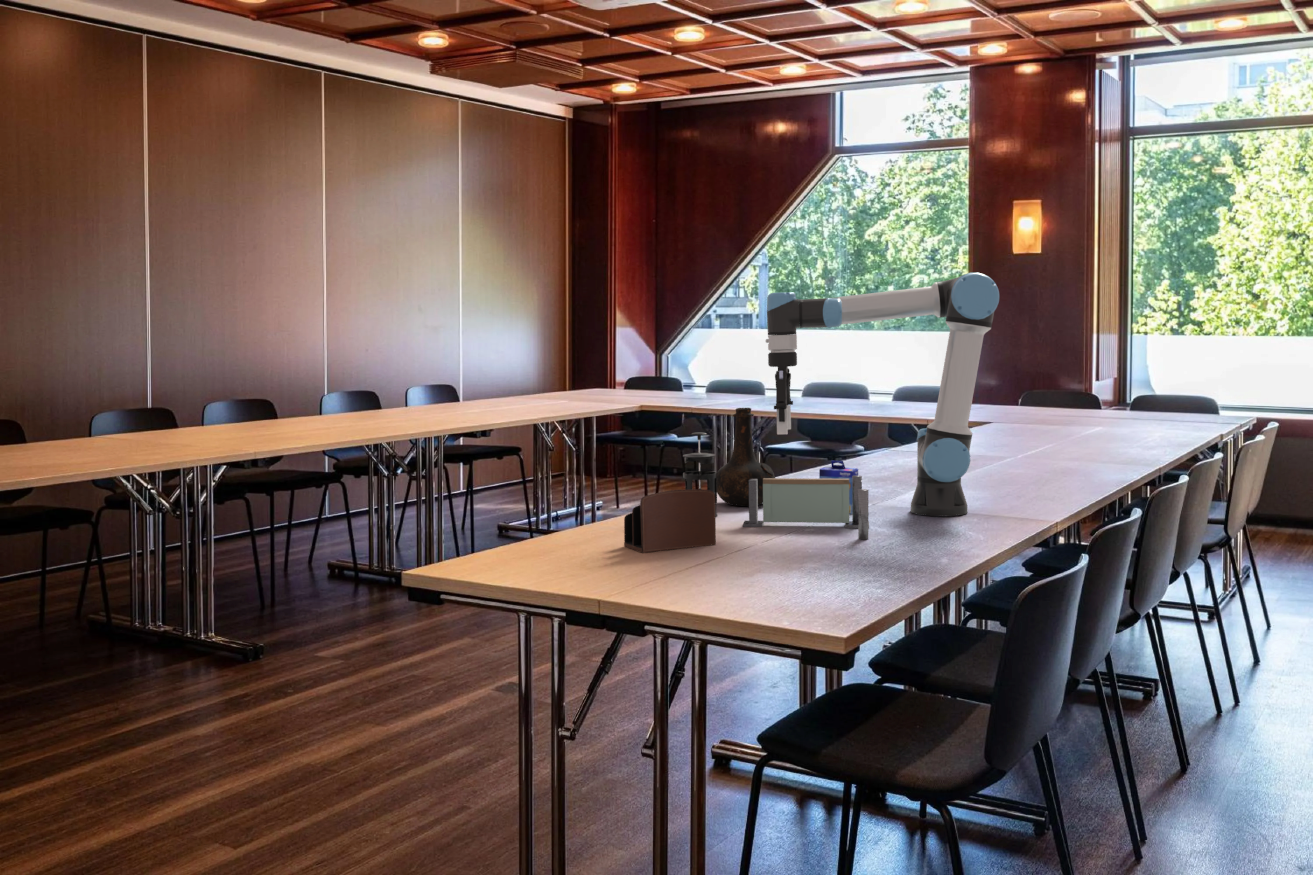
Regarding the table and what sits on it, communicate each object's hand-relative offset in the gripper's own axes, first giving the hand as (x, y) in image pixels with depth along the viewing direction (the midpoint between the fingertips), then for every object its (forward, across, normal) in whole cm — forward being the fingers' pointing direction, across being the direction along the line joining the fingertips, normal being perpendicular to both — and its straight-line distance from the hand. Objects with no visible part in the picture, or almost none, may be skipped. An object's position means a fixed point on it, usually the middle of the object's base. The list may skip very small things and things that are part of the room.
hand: (784, 431), depth 327 cm
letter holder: (+24, +39, -25) cm, 52 cm away
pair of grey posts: (+24, +17, +6) cm, 30 cm away
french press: (+23, -5, -23) cm, 33 cm away
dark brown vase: (+24, -27, -14) cm, 38 cm away
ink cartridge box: (+24, -14, +14) cm, 31 cm away
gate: (+23, +9, +6) cm, 25 cm away
